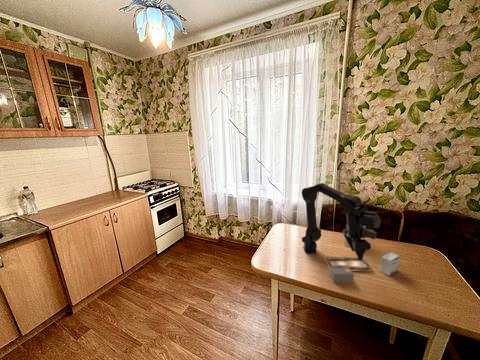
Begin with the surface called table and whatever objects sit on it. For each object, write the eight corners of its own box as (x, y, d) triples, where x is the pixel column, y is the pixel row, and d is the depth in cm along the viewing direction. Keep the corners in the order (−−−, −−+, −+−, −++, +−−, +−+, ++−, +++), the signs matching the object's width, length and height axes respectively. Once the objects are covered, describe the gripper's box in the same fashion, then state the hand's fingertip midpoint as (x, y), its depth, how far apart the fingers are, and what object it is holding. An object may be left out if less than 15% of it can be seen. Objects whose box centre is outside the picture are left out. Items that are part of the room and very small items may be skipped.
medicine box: (388, 276, 97) (391, 261, 95) (379, 271, 101) (381, 256, 99) (397, 270, 100) (400, 256, 98) (387, 265, 104) (390, 251, 102)
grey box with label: (333, 282, 95) (334, 273, 93) (330, 276, 98) (330, 267, 97) (352, 283, 94) (353, 273, 93) (348, 277, 98) (349, 267, 96)
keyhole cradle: (331, 270, 103) (331, 267, 102) (325, 259, 111) (325, 256, 111) (371, 271, 101) (371, 268, 100) (362, 260, 110) (362, 257, 109)
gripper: (383, 229, 82) (386, 265, 83) (364, 216, 100) (367, 246, 101) (354, 230, 84) (357, 265, 85) (341, 218, 102) (343, 247, 103)
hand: (356, 255), depth 94 cm, fingers open, 9 cm apart
